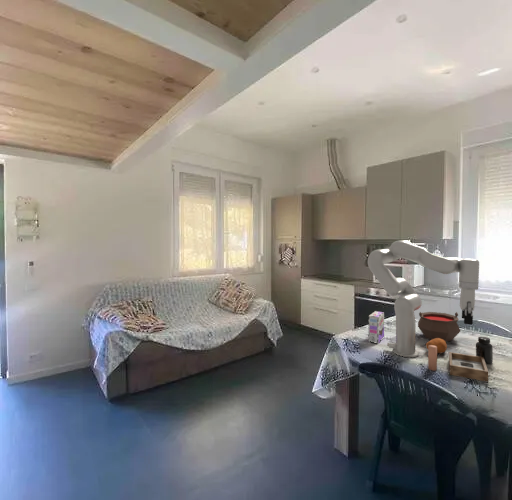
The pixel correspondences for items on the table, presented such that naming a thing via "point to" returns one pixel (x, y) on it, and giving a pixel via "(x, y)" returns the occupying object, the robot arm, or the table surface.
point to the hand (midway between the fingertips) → (466, 321)
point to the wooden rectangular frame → (468, 366)
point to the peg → (432, 357)
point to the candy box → (376, 326)
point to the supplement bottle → (484, 349)
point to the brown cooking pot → (439, 325)
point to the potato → (438, 344)
